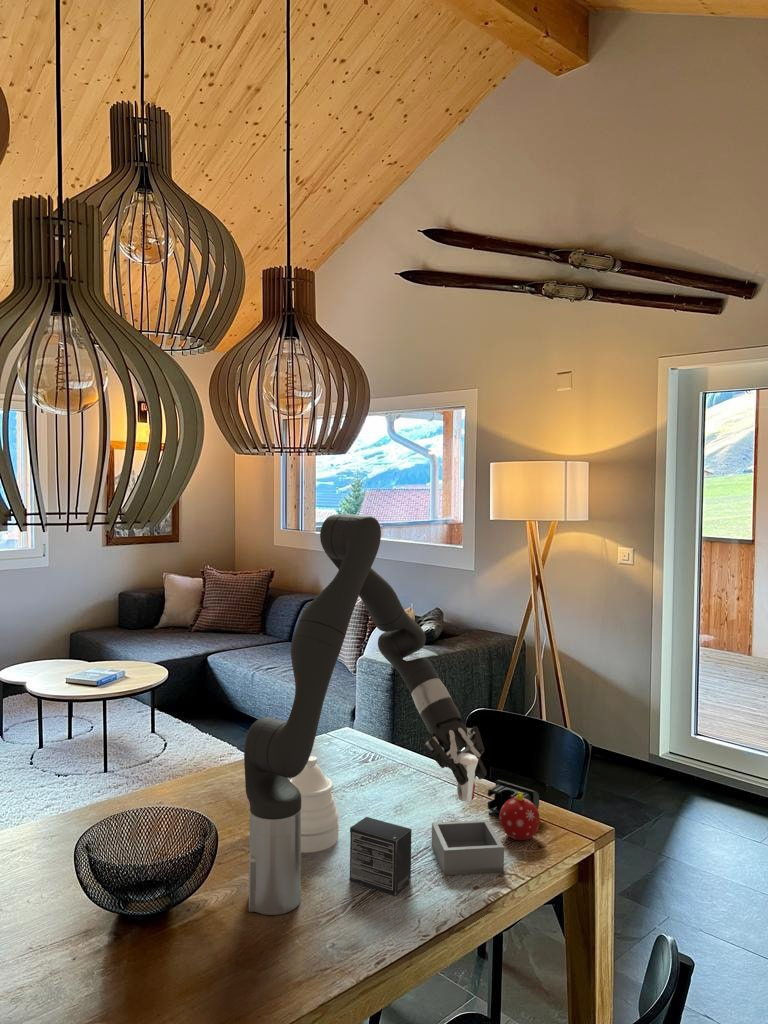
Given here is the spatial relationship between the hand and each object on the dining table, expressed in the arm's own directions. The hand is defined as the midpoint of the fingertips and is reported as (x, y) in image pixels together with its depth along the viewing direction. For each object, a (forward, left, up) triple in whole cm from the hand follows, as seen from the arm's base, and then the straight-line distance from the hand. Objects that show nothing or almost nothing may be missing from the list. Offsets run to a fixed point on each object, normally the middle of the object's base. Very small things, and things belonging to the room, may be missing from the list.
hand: (474, 779), depth 154 cm
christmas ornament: (+13, +9, -17) cm, 23 cm away
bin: (-1, +2, -17) cm, 17 cm away
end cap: (+15, +20, -17) cm, 30 cm away
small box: (-19, -5, -17) cm, 26 cm away
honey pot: (-32, +14, -17) cm, 39 cm away
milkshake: (-1, +2, -5) cm, 5 cm away
